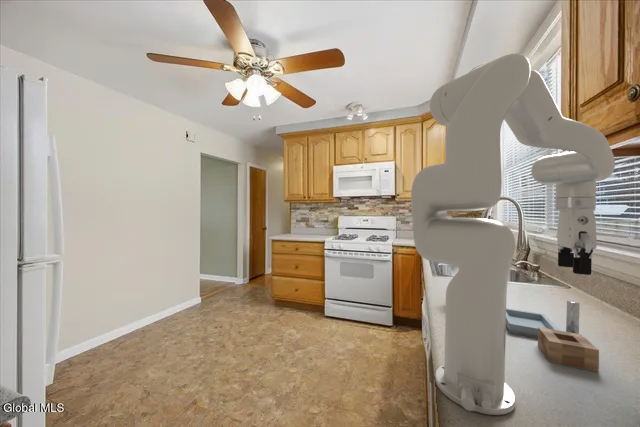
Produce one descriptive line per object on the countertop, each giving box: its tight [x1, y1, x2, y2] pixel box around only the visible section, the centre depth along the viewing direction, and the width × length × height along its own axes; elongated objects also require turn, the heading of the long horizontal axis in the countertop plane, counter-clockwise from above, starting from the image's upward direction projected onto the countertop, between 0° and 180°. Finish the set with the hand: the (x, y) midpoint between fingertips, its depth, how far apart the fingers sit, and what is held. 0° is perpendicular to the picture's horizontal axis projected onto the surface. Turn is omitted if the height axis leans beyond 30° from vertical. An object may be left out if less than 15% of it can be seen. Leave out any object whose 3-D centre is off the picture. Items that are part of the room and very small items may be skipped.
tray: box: [506, 307, 561, 339], centre depth 75 cm, size 14×11×2 cm
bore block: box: [537, 327, 600, 373], centre depth 59 cm, size 8×8×5 cm
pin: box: [565, 300, 581, 334], centre depth 68 cm, size 2×2×10 cm
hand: (573, 270), depth 68 cm, fingers open, 9 cm apart
